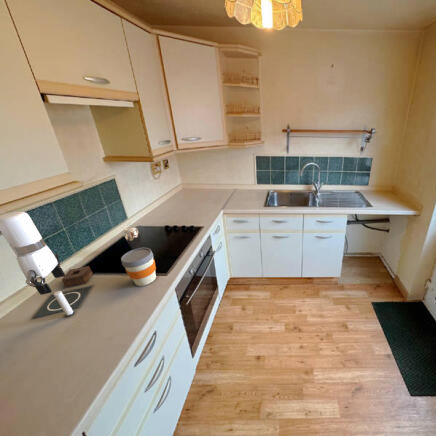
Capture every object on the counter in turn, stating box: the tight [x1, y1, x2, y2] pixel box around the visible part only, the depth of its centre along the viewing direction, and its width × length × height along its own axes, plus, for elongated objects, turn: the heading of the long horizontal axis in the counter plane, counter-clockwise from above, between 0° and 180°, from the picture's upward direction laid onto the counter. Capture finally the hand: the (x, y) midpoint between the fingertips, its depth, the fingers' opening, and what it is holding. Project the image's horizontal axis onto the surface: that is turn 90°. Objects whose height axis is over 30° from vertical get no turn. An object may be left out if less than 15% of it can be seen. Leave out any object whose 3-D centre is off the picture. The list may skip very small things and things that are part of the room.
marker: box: [53, 290, 75, 317], centre depth 91 cm, size 2×2×12 cm
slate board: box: [32, 285, 92, 320], centre depth 100 cm, size 15×14×1 cm
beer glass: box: [123, 226, 144, 250], centre depth 132 cm, size 7×7×15 cm
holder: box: [61, 265, 93, 288], centre depth 112 cm, size 8×8×5 cm
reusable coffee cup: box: [120, 247, 157, 287], centre depth 109 cm, size 12×13×15 cm
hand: (53, 284), depth 87 cm, fingers open, 9 cm apart
